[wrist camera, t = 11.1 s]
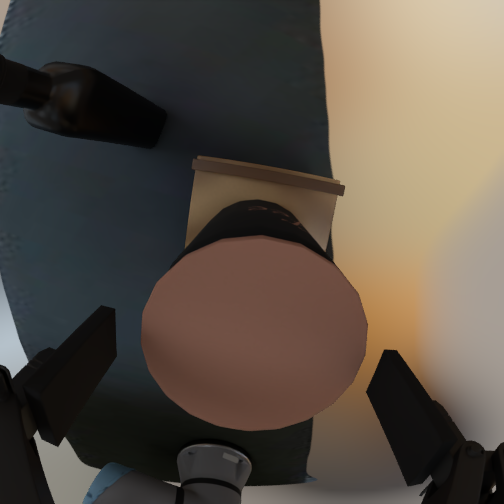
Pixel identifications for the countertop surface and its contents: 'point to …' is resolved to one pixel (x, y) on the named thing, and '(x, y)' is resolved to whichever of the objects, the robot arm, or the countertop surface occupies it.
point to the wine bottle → (80, 103)
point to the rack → (261, 193)
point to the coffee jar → (254, 322)
